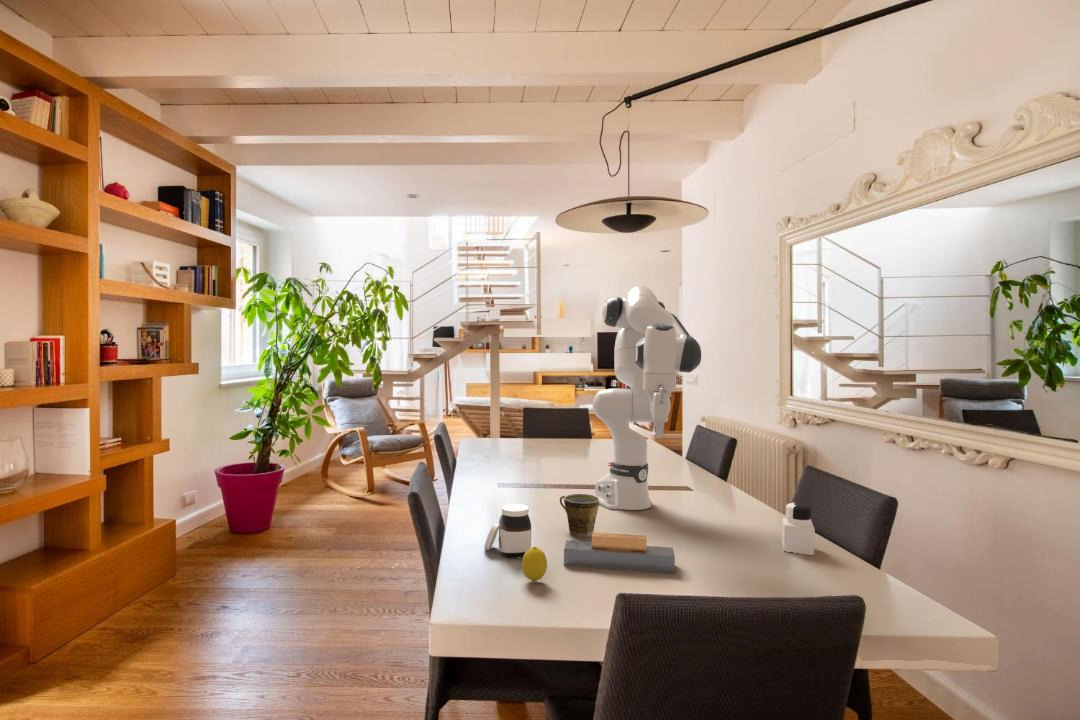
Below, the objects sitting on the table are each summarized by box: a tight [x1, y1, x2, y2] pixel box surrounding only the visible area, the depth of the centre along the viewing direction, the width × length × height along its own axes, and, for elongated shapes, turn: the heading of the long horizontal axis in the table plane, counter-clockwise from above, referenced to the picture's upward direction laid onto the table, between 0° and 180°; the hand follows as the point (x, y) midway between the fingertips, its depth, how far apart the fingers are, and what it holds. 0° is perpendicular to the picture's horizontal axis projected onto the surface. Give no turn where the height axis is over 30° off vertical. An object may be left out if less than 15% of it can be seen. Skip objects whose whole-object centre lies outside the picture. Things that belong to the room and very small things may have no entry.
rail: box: [563, 540, 676, 574], centre depth 137 cm, size 26×6×4 cm, turn 81°
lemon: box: [521, 546, 548, 583], centre depth 125 cm, size 6×6×8 cm
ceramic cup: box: [559, 493, 600, 538], centre depth 160 cm, size 13×10×10 cm
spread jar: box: [483, 503, 532, 559], centre depth 144 cm, size 12×11×12 cm
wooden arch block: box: [591, 531, 648, 552], centre depth 137 cm, size 13×3×7 cm, turn 81°
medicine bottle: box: [781, 502, 816, 556], centre depth 149 cm, size 7×7×12 cm
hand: (658, 435), depth 153 cm, fingers open, 8 cm apart
